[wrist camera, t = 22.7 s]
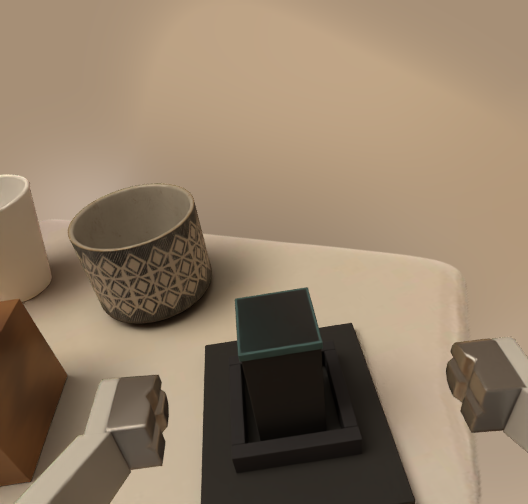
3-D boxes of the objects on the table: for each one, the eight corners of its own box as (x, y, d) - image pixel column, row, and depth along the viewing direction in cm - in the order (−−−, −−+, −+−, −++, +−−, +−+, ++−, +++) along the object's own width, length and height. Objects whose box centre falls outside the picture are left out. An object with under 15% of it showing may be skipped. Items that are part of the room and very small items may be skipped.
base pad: (414, 507, 28) (418, 486, 26) (203, 540, 28) (192, 521, 26) (351, 329, 41) (351, 306, 39) (207, 352, 41) (200, 330, 39)
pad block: (328, 432, 32) (322, 342, 26) (259, 443, 32) (237, 355, 26) (315, 376, 36) (307, 286, 30) (254, 385, 36) (234, 298, 30)
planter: (143, 350, 42) (107, 268, 36) (84, 298, 50) (46, 223, 44) (236, 282, 49) (219, 202, 43) (171, 245, 57) (149, 173, 50)
